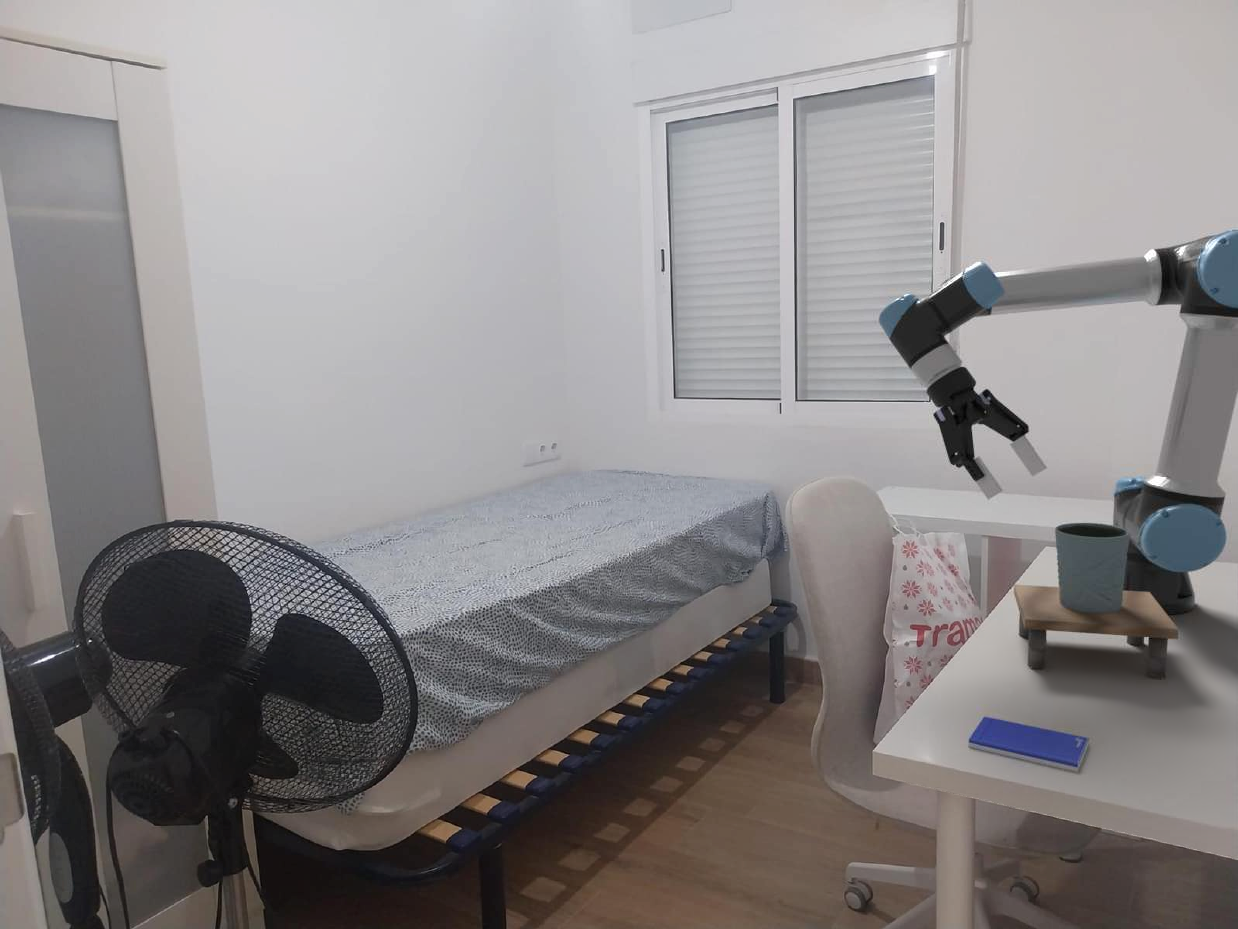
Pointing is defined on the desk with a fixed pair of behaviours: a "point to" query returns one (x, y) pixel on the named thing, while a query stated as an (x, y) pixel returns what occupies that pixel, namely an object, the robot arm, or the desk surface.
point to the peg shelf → (1095, 623)
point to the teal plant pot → (1091, 566)
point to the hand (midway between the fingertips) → (1018, 483)
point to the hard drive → (1030, 743)
